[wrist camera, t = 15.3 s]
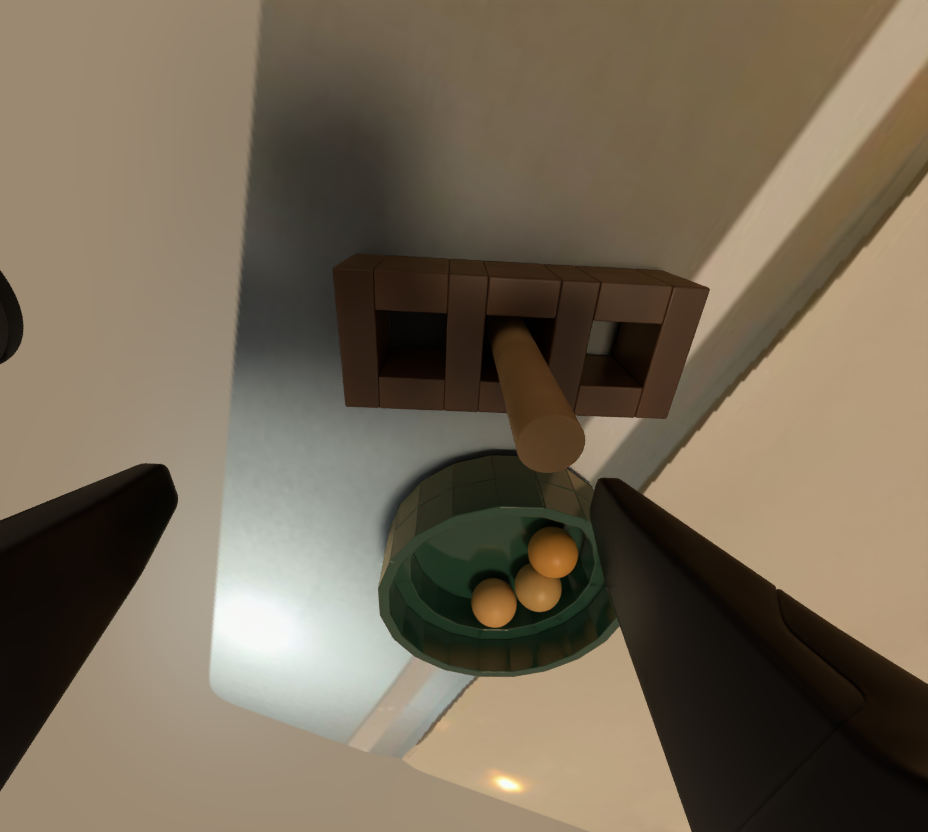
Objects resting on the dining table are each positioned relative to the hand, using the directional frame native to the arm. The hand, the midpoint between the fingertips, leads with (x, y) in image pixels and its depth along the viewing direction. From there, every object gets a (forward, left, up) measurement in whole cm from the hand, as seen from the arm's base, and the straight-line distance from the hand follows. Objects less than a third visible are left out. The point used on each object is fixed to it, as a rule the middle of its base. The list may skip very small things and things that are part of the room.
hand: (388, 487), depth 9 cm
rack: (+4, 0, -13) cm, 14 cm away
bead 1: (+5, -18, -11) cm, 22 cm away
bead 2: (+8, -13, -11) cm, 19 cm away
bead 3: (+8, -16, -11) cm, 21 cm away
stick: (+4, 0, -13) cm, 14 cm away
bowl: (+5, -14, -13) cm, 20 cm away
